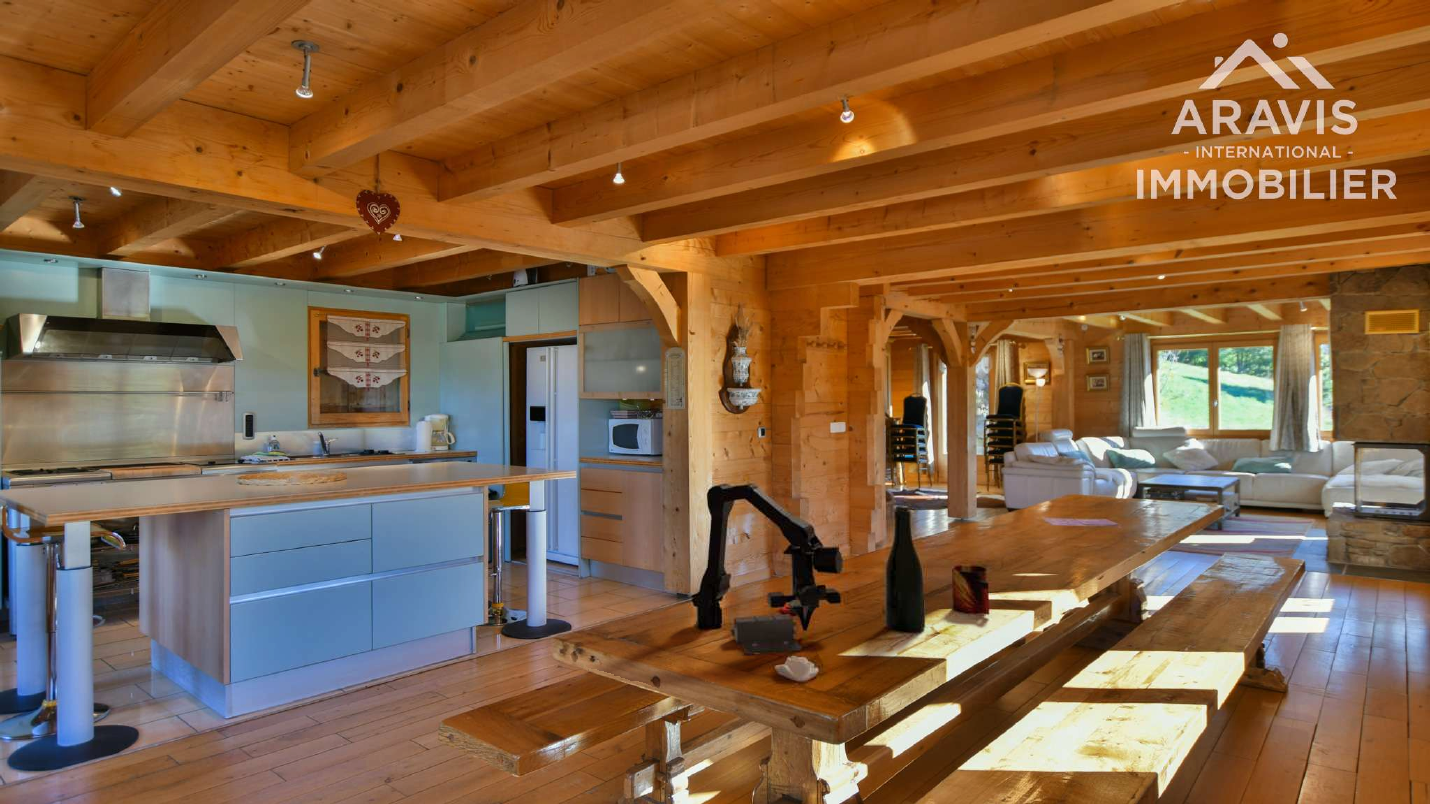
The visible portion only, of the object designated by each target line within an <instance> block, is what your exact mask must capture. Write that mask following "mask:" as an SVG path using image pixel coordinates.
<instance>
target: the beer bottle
mask: <svg viewBox="0 0 1430 804" xmlns="http://www.w3.org/2000/svg"><path fill="white" fill-rule="evenodd" d="M911 516H912V515H911V511H909V506H908V505H907V506H906V505H898V506H896V507H895V510H894V514H893V517H894V533H893V534H894V535H893V541H892V546H891V549H890V552H889V554H888V557H887V560H886V565H885V570H884V571H885V576H884V577H885V579H884V586H885V587H884V589H885V590H884V593H885V595H884V600H885V601H884V603H885V604H884V605H885V607H884V608H885V610H884V613H885V616H884V617H885V626H886V628H888V629H889V630H890V631H893V632H899V633H917V632H920V631H922V630H924V629H925V627H926V608H925V607H926V606H925V589H924V587H925V586H924V573H923V566H922V563H921V559H920V557H919V555H918V553H917V550H916V547H915V544H914V541H913V535H912V525H911V522H912V521H911V518H912V517H911Z"/></svg>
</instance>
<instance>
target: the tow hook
mask: <svg viewBox="0 0 1430 804" xmlns="http://www.w3.org/2000/svg"><path fill="white" fill-rule="evenodd" d="M790 584H791V587H790V588H791V589H792V576H791V583H790ZM791 595H793V593H792V592H791ZM789 607H790V606H789V605H788V604H785V606H784V607H780V611H781V612H782V615H784V614H789V615H790V614H797V613H796V611H795V610H794V609H792V608H791V607H790V608H789ZM803 607H804V606H803ZM786 608H789V609H786ZM803 612H804V611H803Z"/></svg>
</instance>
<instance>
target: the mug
mask: <svg viewBox="0 0 1430 804" xmlns="http://www.w3.org/2000/svg"><path fill="white" fill-rule="evenodd" d="M987 572H988V569H987V568H986V567H983V566H980V565H979V566H978V565H970V564H969V565H966V564H962V565H954V566H952V568H951V578H952V579H951V580H952V581H951V582H952V583H951V585H952V610H953V611H954V612H957V613H960V614H965V615H982V614H984V615H990V598H989V597H990V595H989V593H990V592H989V591H990V590H989V583H988V575H987Z"/></svg>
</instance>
